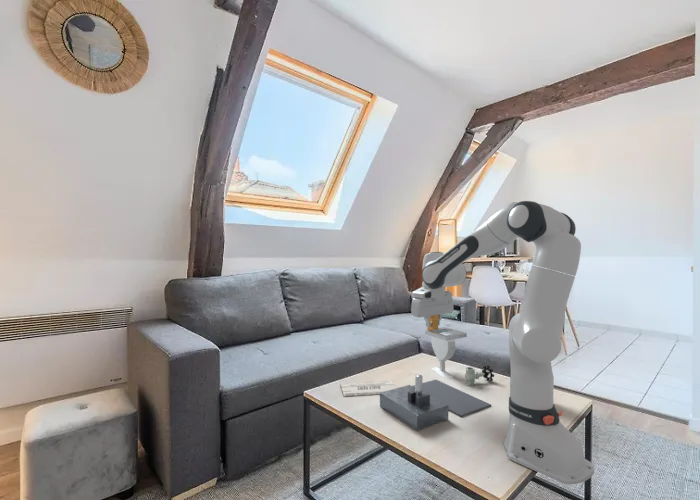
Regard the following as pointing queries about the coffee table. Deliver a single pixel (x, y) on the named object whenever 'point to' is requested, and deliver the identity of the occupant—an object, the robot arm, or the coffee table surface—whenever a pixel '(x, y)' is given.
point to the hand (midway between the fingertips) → (432, 326)
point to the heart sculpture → (443, 354)
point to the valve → (478, 375)
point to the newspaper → (366, 388)
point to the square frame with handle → (436, 331)
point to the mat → (454, 398)
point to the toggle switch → (414, 405)
